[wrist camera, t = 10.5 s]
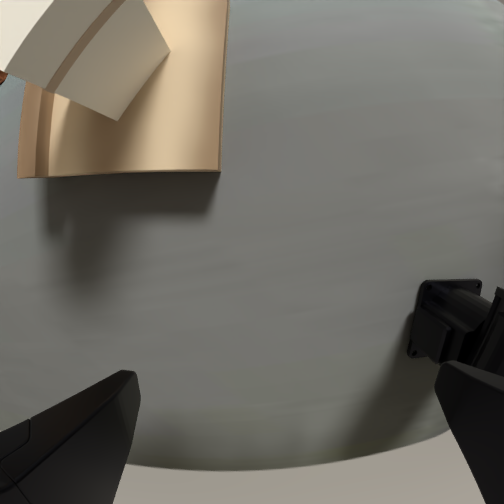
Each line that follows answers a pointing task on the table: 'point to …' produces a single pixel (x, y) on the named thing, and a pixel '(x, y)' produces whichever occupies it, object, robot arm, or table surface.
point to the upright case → (82, 49)
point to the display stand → (141, 108)
